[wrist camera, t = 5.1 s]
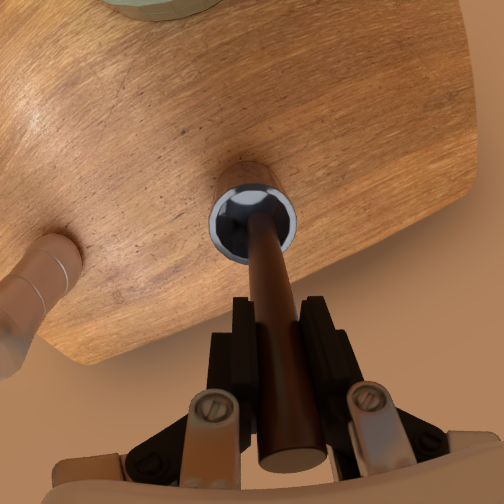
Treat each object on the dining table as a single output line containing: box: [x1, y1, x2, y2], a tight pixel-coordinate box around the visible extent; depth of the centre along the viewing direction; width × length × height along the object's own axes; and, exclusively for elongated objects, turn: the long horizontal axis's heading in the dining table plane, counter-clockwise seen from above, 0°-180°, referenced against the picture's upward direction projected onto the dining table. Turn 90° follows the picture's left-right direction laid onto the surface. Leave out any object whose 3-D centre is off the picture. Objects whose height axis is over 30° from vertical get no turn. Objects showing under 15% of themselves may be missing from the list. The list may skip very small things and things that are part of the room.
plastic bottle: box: [0, 233, 82, 381], centre depth 21 cm, size 6×7×20 cm
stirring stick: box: [247, 211, 328, 473], centre depth 14 cm, size 2×2×16 cm
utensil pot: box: [209, 161, 297, 265], centre depth 24 cm, size 6×6×8 cm
